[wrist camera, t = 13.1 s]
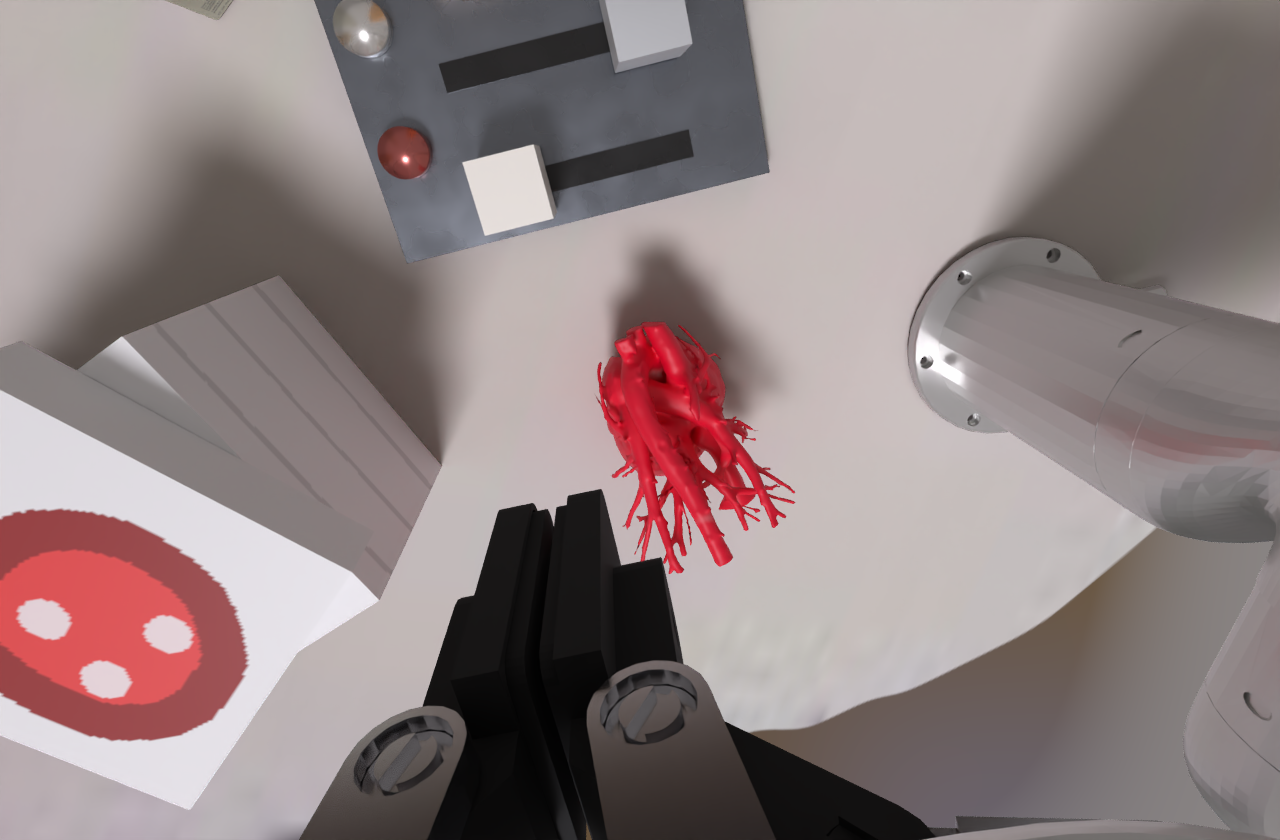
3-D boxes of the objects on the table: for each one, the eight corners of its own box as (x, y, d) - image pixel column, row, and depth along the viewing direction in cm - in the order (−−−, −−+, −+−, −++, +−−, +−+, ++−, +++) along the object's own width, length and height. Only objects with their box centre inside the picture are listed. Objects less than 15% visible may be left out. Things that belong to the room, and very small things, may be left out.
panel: (706, -185, 35) (714, -209, 32) (763, 171, 41) (774, 172, 38) (295, -78, 35) (274, -95, 33) (413, 259, 41) (402, 266, 39)
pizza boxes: (-83, 499, 44) (-499, 712, 27) (284, 226, 40) (63, 277, 23) (153, 694, 50) (-65, 965, 33) (491, 476, 46) (436, 660, 29)
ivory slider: (539, 145, 38) (533, 144, 33) (557, 211, 39) (553, 218, 35) (475, 161, 38) (462, 162, 33) (495, 227, 39) (484, 235, 35)
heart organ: (706, 273, 43) (749, 315, 31) (763, 441, 47) (819, 531, 36) (555, 332, 43) (544, 394, 32) (625, 492, 47) (637, 597, 36)
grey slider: (665, -20, 35) (676, -44, 31) (680, 56, 37) (692, 43, 32) (598, -3, 35) (599, -24, 31) (615, 73, 37) (618, 62, 32)
